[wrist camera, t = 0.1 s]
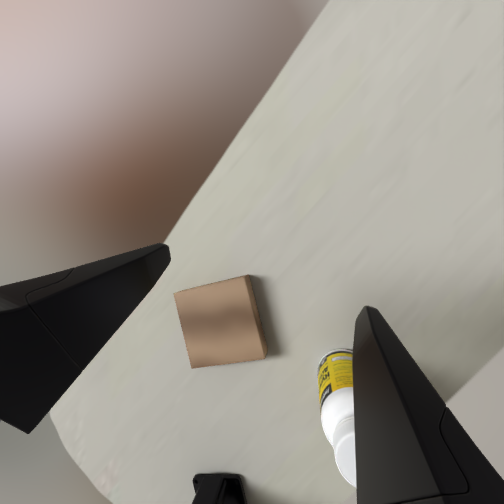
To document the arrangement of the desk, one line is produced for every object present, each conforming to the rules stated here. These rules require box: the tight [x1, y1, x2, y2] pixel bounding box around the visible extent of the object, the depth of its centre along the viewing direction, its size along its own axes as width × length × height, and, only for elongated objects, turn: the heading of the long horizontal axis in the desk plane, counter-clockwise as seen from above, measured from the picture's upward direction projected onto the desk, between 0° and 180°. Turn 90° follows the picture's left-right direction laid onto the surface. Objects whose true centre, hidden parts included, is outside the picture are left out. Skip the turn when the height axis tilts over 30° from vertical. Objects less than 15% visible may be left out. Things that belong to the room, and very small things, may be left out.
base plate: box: [174, 275, 268, 368], centre depth 25 cm, size 9×9×2 cm
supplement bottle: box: [318, 349, 357, 488], centre depth 18 cm, size 5×5×10 cm
